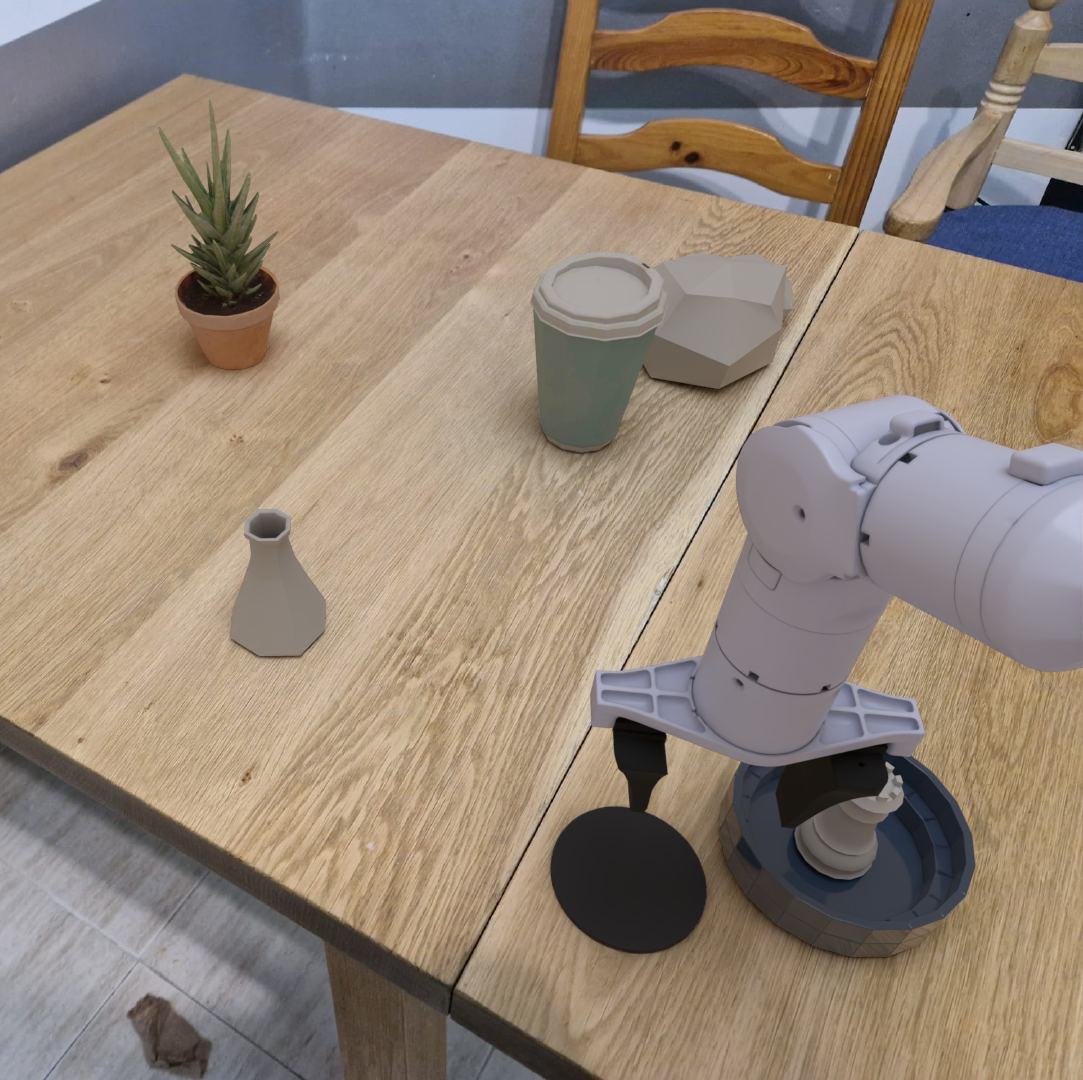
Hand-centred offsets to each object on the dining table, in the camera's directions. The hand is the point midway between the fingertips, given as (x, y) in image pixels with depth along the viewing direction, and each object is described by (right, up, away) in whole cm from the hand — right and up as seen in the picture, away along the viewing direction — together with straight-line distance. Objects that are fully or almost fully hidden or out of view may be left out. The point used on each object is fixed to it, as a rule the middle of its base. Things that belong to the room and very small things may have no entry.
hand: (709, 803), depth 53 cm
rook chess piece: (+10, -5, +7) cm, 13 cm away
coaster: (-3, -6, +7) cm, 9 cm away
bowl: (+10, -5, +8) cm, 13 cm away
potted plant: (-30, +32, +45) cm, 63 cm away
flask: (-24, +8, +21) cm, 33 cm away
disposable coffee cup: (+1, +24, +36) cm, 43 cm away
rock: (+16, +33, +45) cm, 58 cm away
